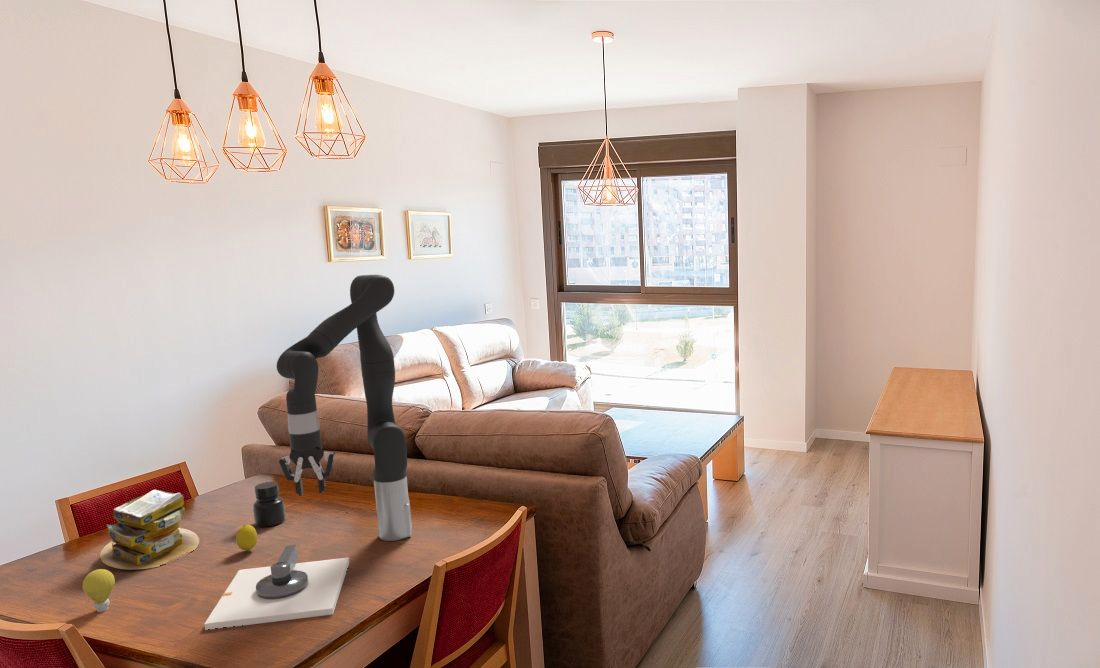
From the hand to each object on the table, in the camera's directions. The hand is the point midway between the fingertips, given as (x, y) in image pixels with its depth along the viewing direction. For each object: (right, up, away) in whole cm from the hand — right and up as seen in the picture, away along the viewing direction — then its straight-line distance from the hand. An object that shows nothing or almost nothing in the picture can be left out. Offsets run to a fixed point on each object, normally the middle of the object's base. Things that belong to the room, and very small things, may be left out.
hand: (311, 493), depth 190 cm
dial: (-5, -21, -5) cm, 22 cm away
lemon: (-24, -21, +20) cm, 37 cm away
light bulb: (-47, -26, -10) cm, 55 cm away
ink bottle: (-26, -18, +41) cm, 52 cm away
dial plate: (-4, -23, -8) cm, 25 cm away
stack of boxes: (-53, -22, +23) cm, 62 cm away
